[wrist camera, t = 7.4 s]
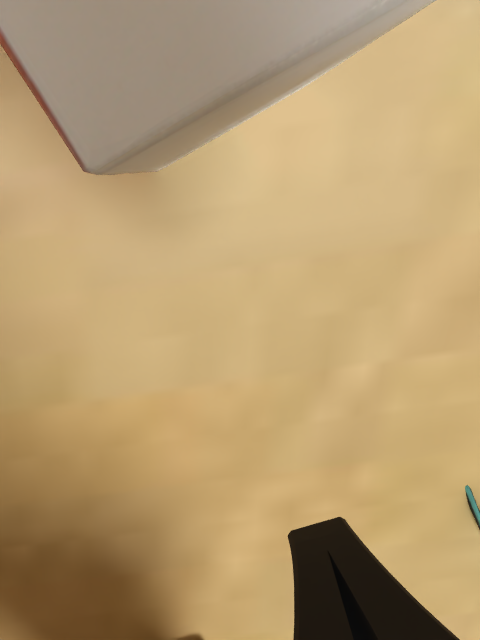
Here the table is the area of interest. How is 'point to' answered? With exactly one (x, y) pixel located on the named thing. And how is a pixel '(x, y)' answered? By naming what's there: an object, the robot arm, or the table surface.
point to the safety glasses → (473, 505)
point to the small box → (176, 66)
